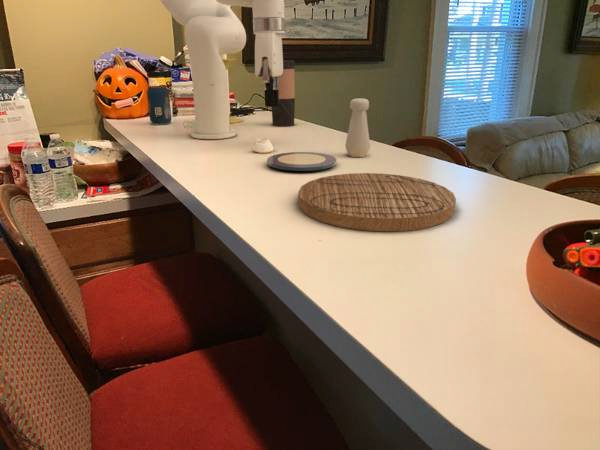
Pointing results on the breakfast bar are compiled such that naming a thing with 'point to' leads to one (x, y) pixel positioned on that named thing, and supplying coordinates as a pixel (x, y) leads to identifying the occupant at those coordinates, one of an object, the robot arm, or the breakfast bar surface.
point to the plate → (301, 161)
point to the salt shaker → (358, 129)
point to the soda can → (159, 105)
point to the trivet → (376, 202)
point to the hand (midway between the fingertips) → (272, 106)
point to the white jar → (263, 146)
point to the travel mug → (285, 96)
